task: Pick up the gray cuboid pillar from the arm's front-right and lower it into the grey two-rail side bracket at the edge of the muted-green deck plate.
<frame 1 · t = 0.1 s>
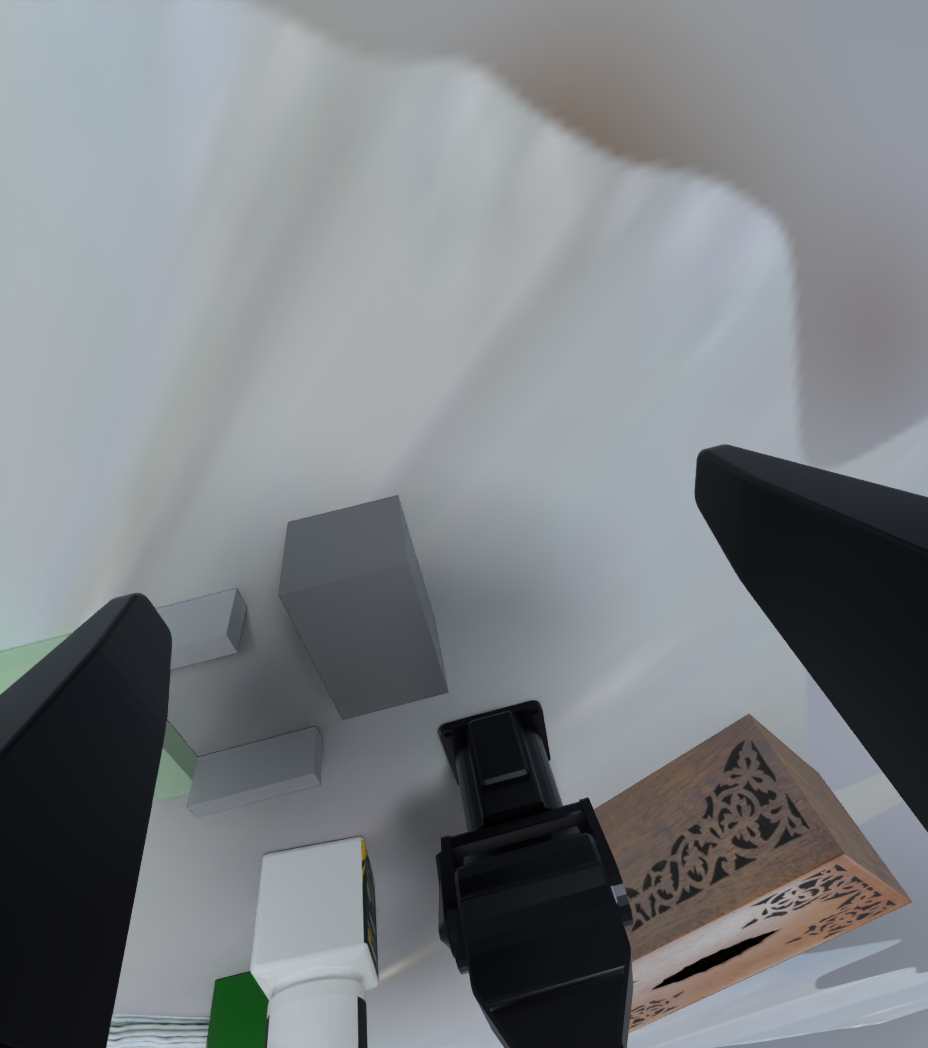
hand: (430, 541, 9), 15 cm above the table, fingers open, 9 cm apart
milk carton: (268, 979, 53), on the table
medicine bottle: (321, 863, 43), on the table
tissue box cover: (650, 820, 49), on the table
gray cuboid pillar: (367, 572, 28), on the table
deck: (173, 700, 30), on the table
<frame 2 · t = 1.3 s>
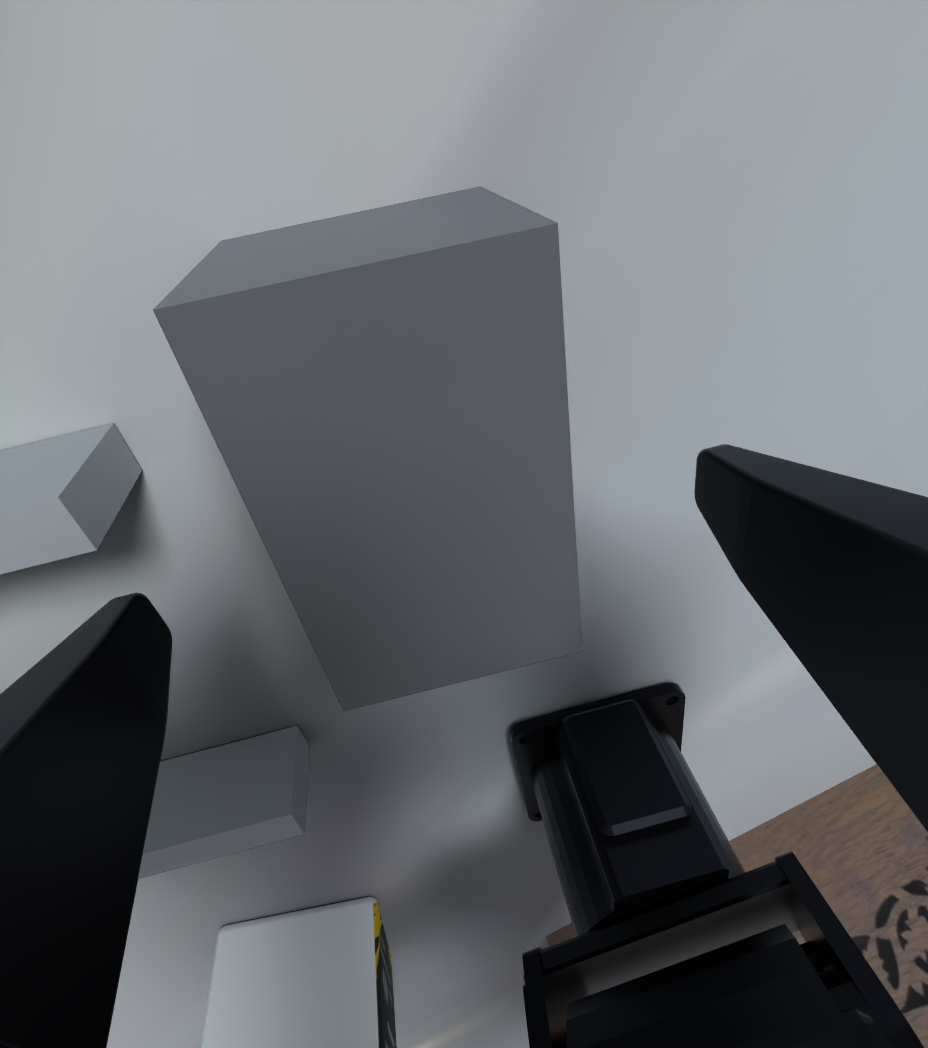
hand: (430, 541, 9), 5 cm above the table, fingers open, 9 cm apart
medicine bottle: (311, 934, 28), on the table
tissue box cover: (782, 860, 34), on the table
gray cuboid pillar: (399, 403, 13), on the table
deck: (19, 676, 16), on the table
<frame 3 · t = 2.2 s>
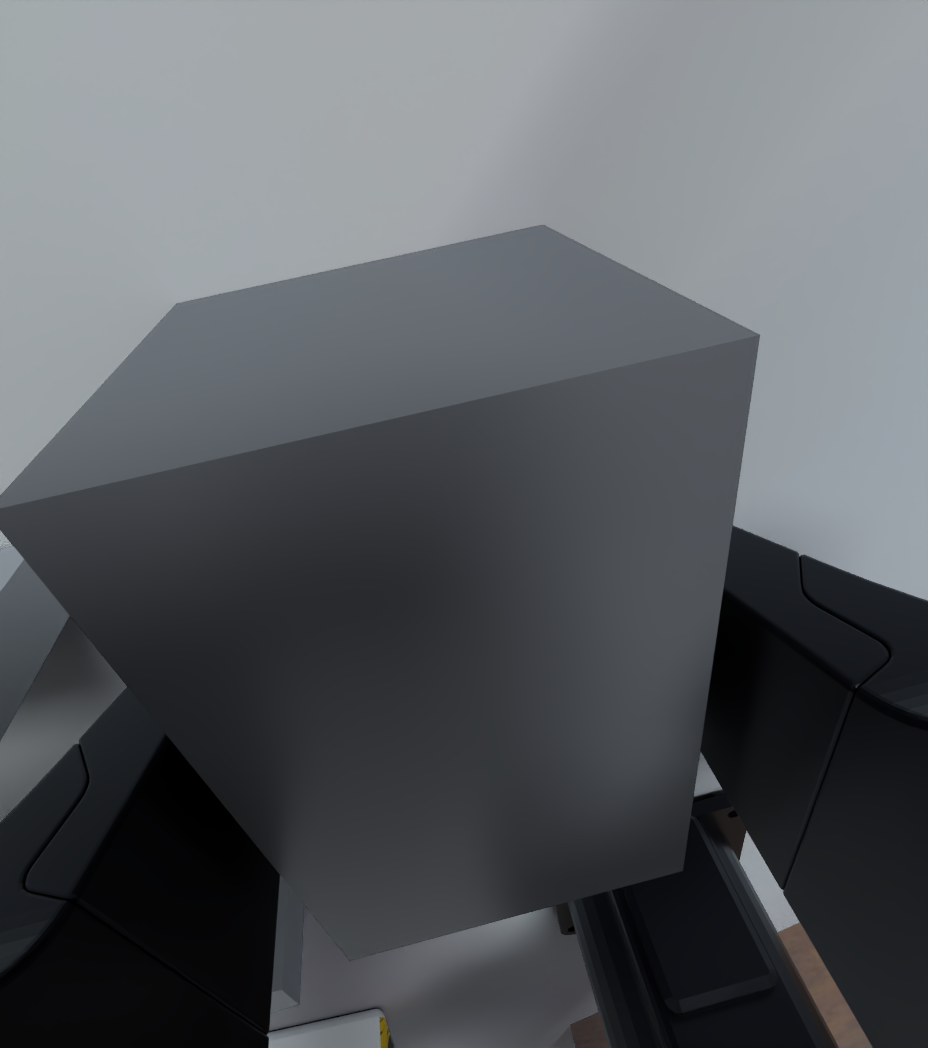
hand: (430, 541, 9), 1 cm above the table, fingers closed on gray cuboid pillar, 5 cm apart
medicine bottle: (309, 1043, 25), on the table
tissue box cover: (831, 942, 31), on the table
gray cuboid pillar: (423, 506, 10), on the table, touching gripper
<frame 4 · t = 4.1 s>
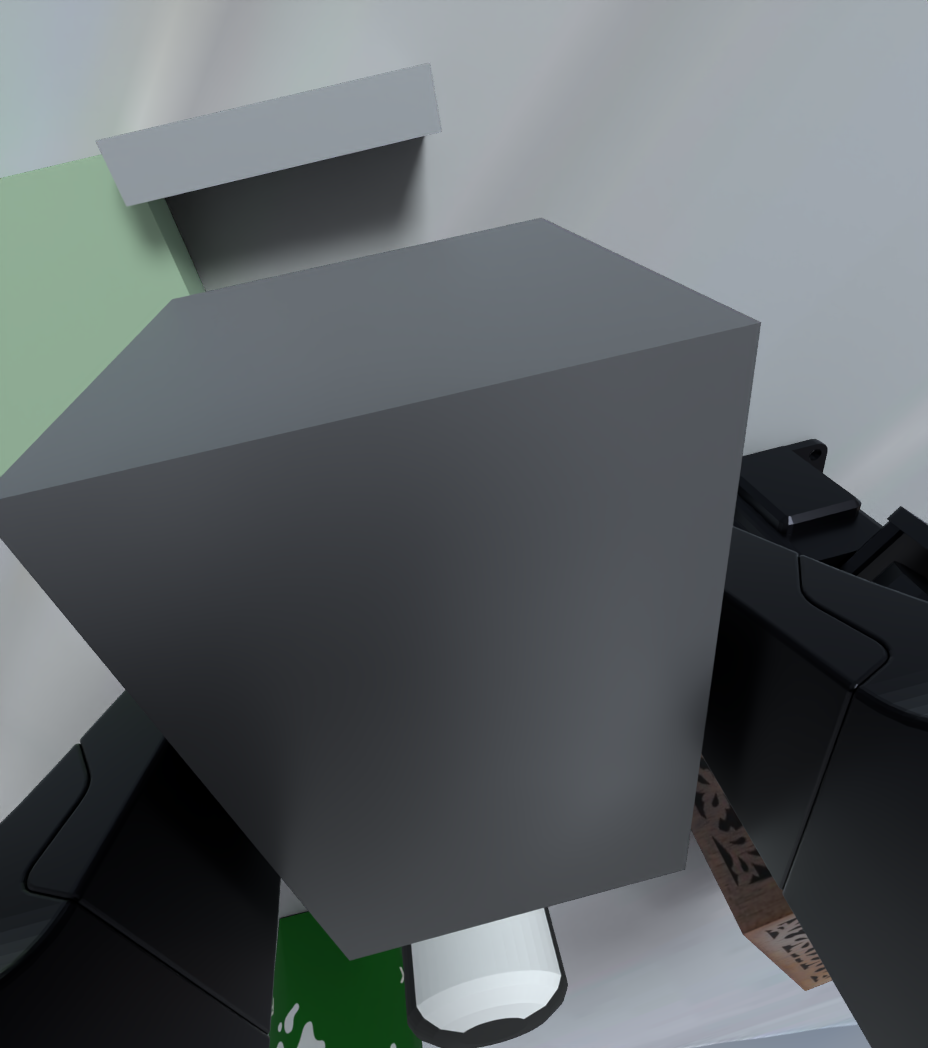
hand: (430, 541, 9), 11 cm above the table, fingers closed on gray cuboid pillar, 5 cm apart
milk carton: (345, 921, 41), on the table
medicine bottle: (444, 736, 30), on the table
tissue box cover: (869, 696, 36), on the table
gray cuboid pillar: (422, 503, 10), point 10 cm above the table, touching gripper
deck: (273, 367, 18), on the table
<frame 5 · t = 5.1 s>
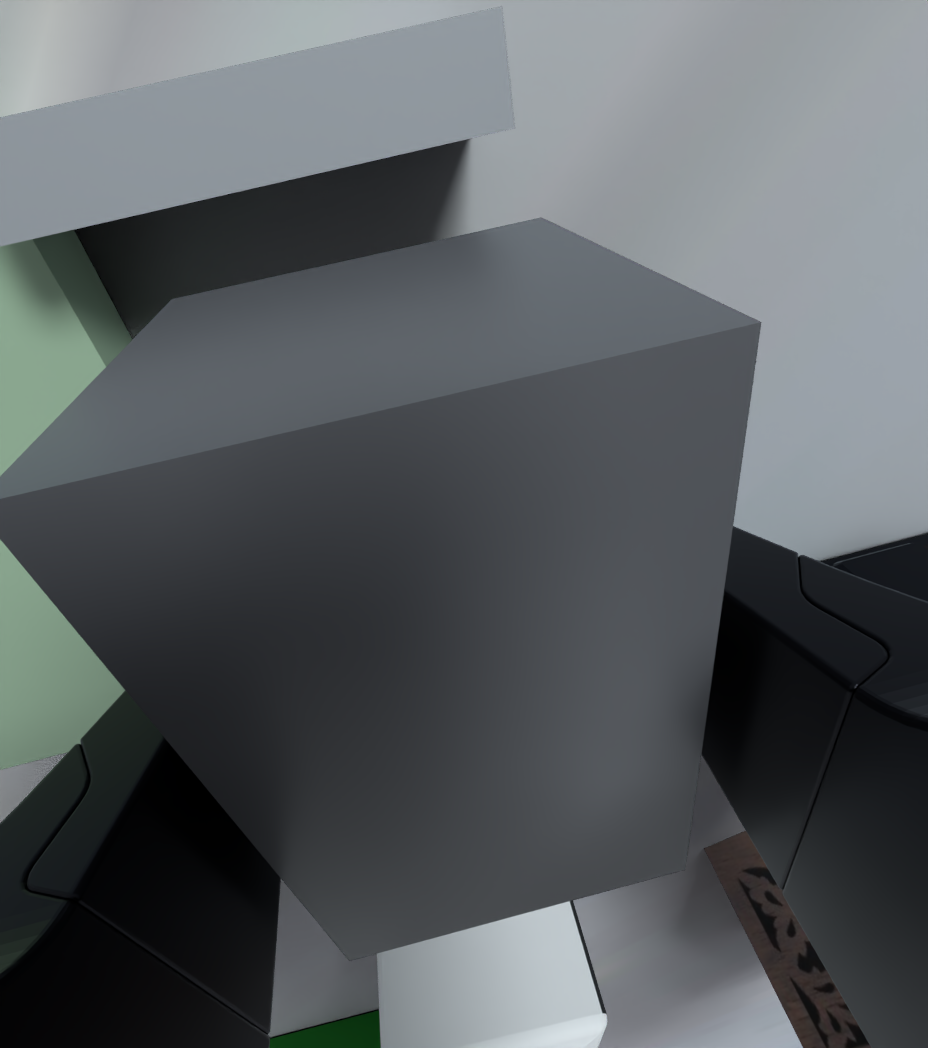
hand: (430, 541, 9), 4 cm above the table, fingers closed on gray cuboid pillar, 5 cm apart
milk carton: (342, 1034, 35), on the table
medicine bottle: (461, 858, 25), on the table
gray cuboid pillar: (422, 503, 10), point 3 cm above the table, touching gripper
deck: (246, 459, 13), on the table
when the fingers open (3 cm above the table, at t = 5.8 s): gray cuboid pillar drops 2 cm, on the table.
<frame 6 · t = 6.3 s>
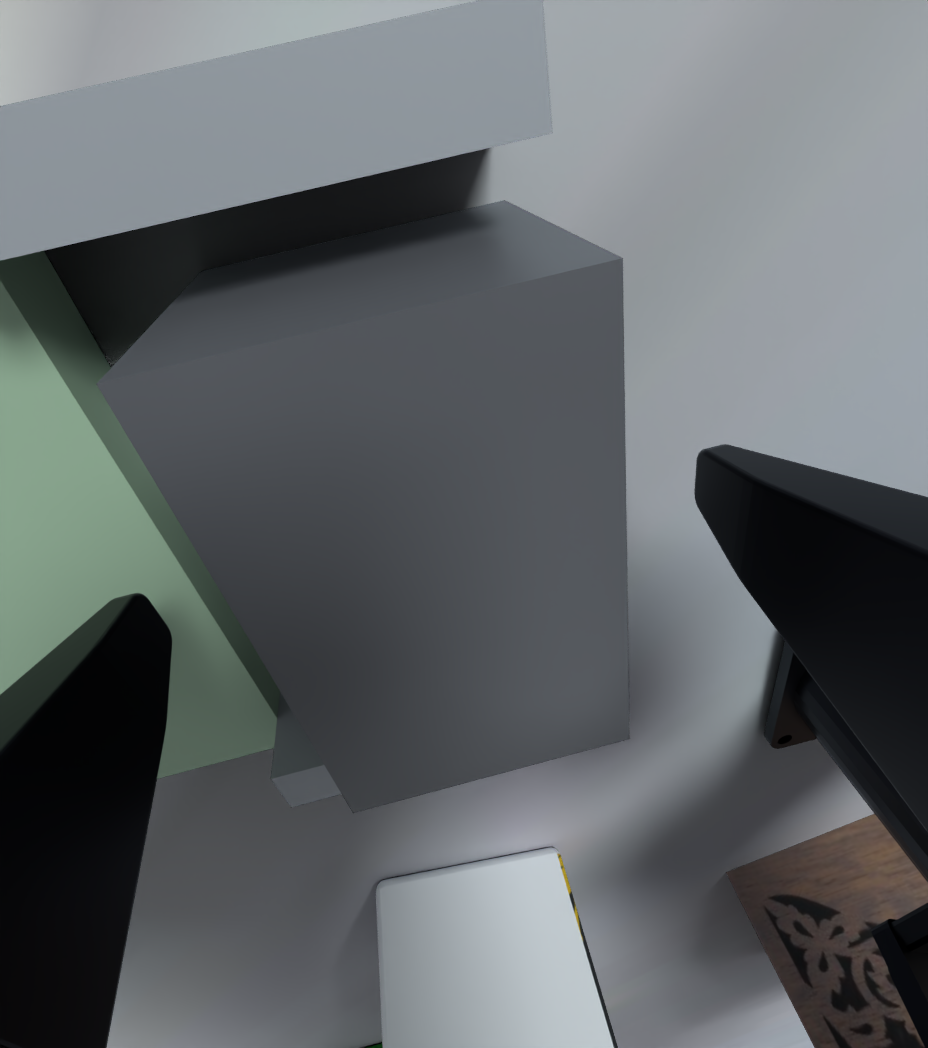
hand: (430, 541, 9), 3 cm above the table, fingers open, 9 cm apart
medicine bottle: (469, 895, 24), on the table
gray cuboid pillar: (411, 446, 12), on the table
deck: (240, 495, 11), on the table
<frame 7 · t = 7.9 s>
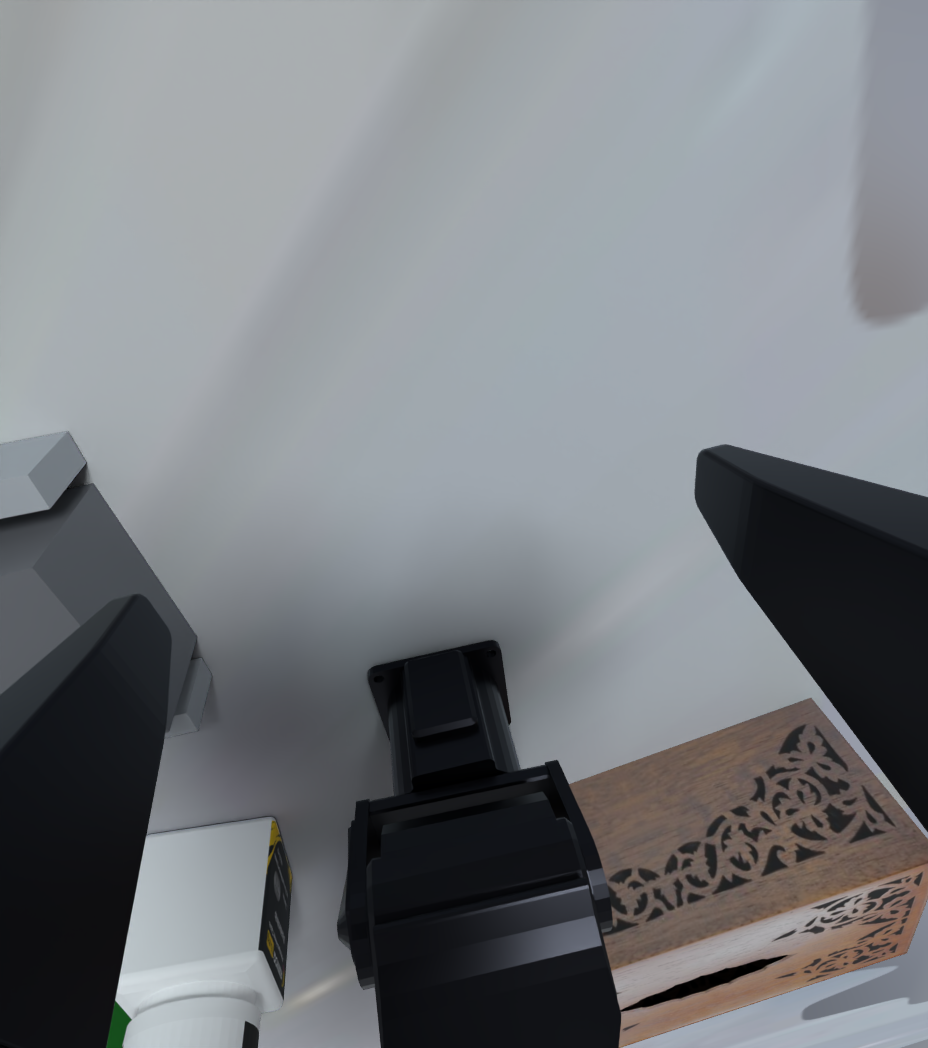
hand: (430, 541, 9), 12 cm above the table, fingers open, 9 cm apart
milk carton: (168, 997, 44), on the table
medicine bottle: (224, 851, 35), on the table
tissue box cover: (630, 812, 41), on the table
gray cuboid pillar: (89, 581, 23), on the table
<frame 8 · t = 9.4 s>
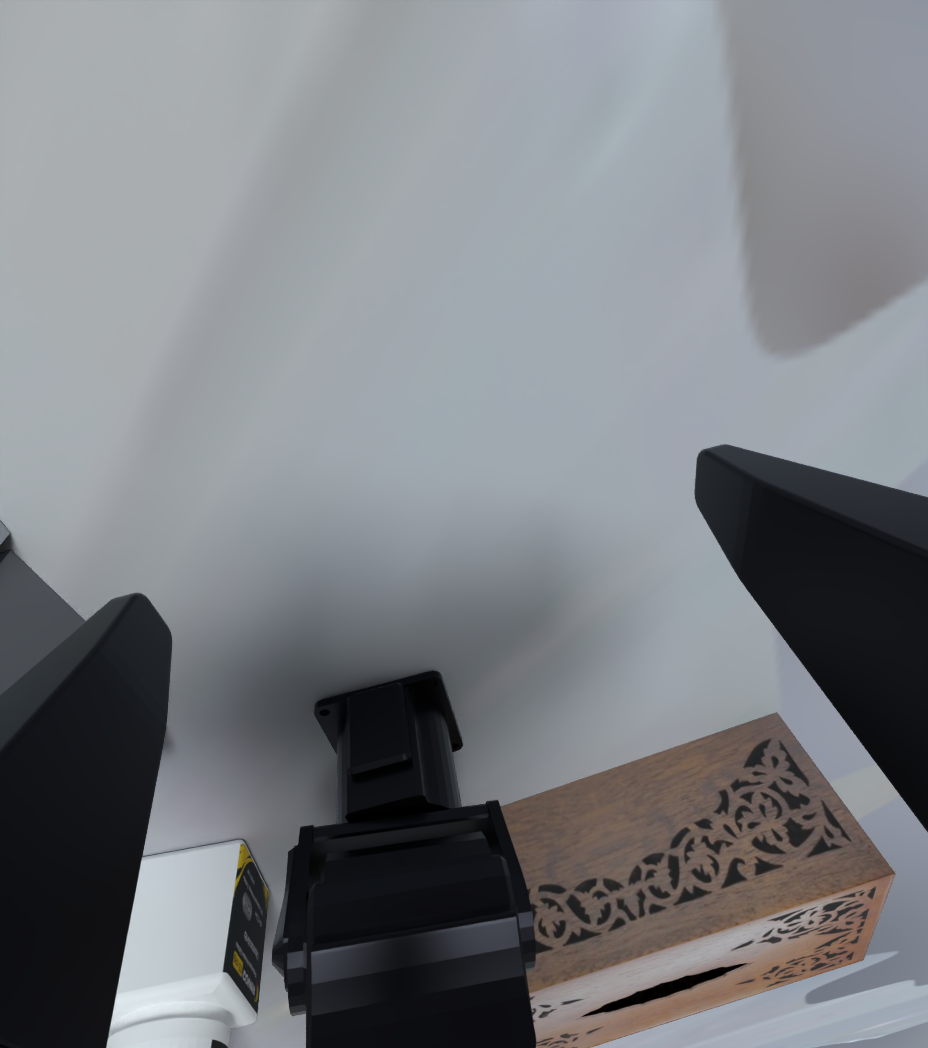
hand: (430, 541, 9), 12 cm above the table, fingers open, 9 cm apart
medicine bottle: (200, 871, 36), on the table
tissue box cover: (601, 820, 42), on the table
gray cuboid pillar: (30, 638, 24), on the table
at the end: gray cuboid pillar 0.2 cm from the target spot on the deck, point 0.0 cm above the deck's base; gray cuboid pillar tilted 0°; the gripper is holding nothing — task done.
